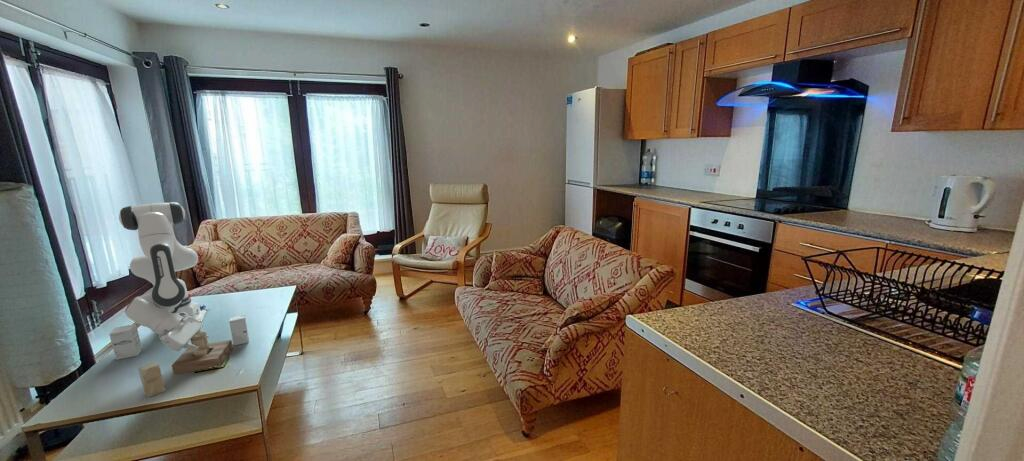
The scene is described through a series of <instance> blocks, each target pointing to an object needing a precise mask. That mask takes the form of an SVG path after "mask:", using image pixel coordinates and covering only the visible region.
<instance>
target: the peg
mask: <svg viewBox="0 0 1024 461" xmlns="http://www.w3.org/2000/svg"><path fill="white" fill-rule="evenodd" d="M206 335H207V331H204V332H200V333H196V334H195V335H194V336H193V337H192V338H191V339H190V340H189V341H190V344H193V345H196V344H197V345H198V346H200V347H199V348H198V349H197V350H196V351H194V350H193V352H194V356H200V355H207V354H209V353H210V350H209V345H208V343H209V342H208V338H207V337H206Z"/></svg>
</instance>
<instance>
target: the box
mask: <svg viewBox="0 0 1024 461" xmlns="http://www.w3.org/2000/svg"><path fill="white" fill-rule="evenodd" d="M137 370H138V372H139V377H140V381H141V386H142V389H143V393H144V395H145V396H146V397H148V398H151V397H153V396H155V395H158V394H160V393H162V392H165V391H166V388H165V384H164V380H163V375H162V371H161V366H160V364H159V363H158V362H157V361H153V362H149V363H147V364H144V365H142V366H139V367H138V368H137Z"/></svg>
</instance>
